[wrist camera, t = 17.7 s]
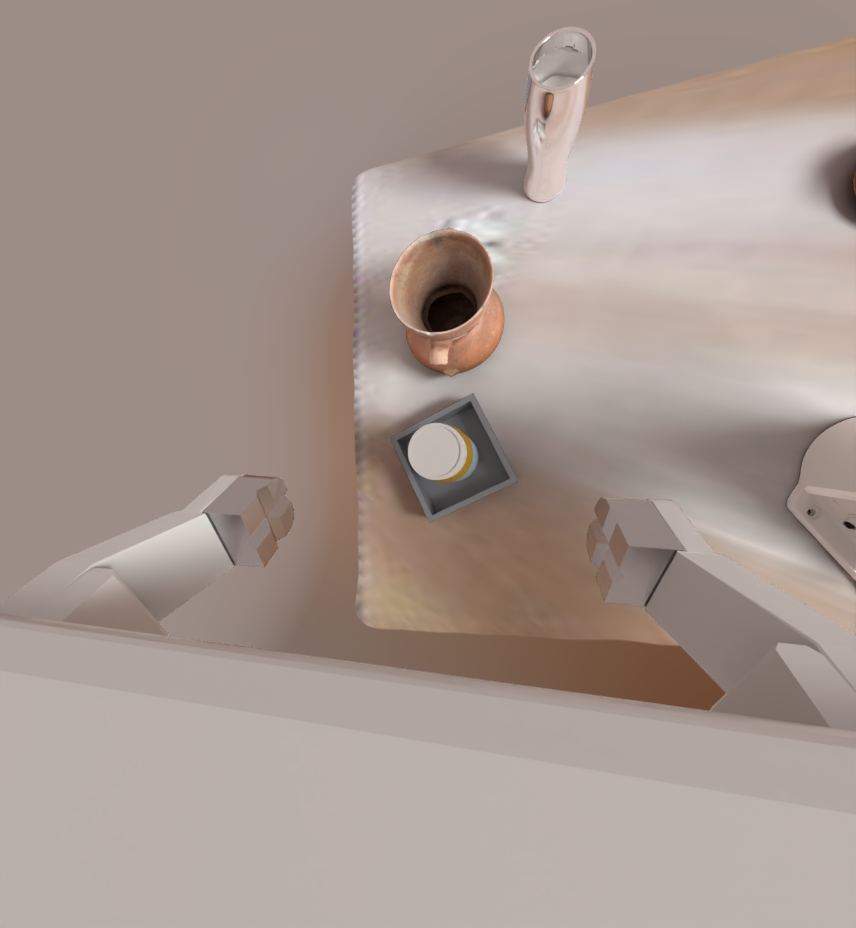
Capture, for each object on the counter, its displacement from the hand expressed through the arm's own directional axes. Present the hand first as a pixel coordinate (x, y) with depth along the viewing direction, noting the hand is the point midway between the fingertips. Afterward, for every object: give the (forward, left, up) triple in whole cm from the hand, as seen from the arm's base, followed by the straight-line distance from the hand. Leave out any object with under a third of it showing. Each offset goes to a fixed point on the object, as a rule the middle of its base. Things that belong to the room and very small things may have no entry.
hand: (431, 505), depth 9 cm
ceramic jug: (+23, -6, -42) cm, 48 cm away
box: (+5, +4, -42) cm, 42 cm away
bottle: (+5, +3, -41) cm, 41 cm away
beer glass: (+36, -26, -42) cm, 61 cm away
